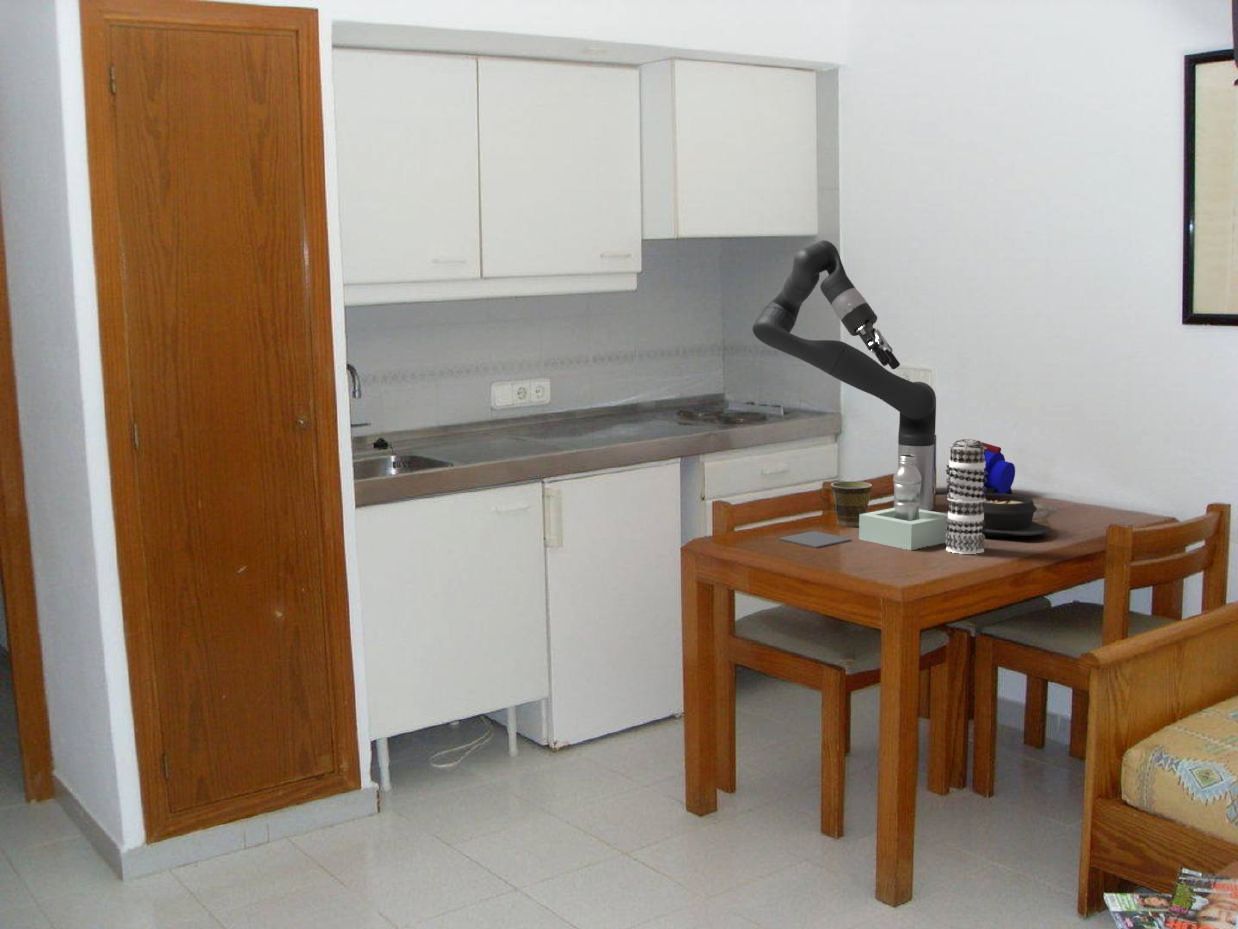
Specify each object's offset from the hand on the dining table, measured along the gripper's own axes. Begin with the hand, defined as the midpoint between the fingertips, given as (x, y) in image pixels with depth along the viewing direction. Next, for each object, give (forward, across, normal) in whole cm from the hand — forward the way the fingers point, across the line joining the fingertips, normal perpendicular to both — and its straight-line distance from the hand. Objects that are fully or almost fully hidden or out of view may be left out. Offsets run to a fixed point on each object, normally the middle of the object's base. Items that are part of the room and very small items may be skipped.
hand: (892, 365), depth 306 cm
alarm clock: (+31, -64, -9) cm, 72 cm away
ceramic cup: (+22, -13, -34) cm, 43 cm away
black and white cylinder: (+46, +5, -10) cm, 47 cm away
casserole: (+45, -17, -5) cm, 48 cm away
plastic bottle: (+36, -1, -21) cm, 41 cm away
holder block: (+36, -1, -21) cm, 41 cm away
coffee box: (+20, -62, -24) cm, 69 cm away
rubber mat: (+25, +7, -37) cm, 45 cm away
